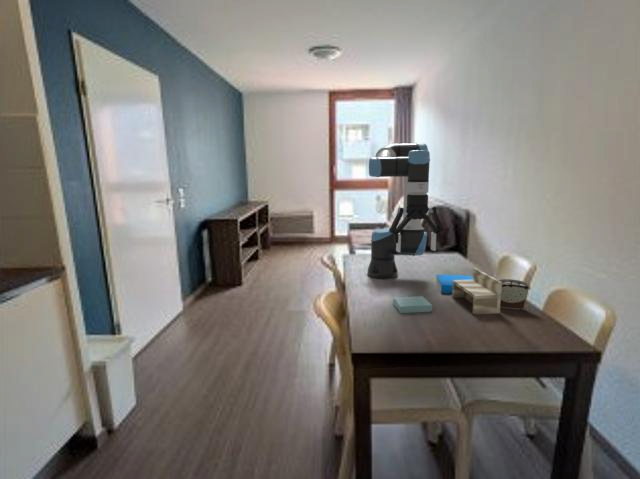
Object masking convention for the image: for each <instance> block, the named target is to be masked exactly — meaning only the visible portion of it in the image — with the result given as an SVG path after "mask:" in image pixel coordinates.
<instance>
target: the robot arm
mask: <svg viewBox="0 0 640 479" xmlns="http://www.w3.org/2000/svg"><path fill="white" fill-rule="evenodd" d="M430 156H431V155H430V151H429V147H428V145H427V144H426V143H424V142H410V143H409V142H407V143H404V142H403V143H392V144H388V145H385V146H383V147H380V148H379V149H378V150H377V151H376V153H375V157H370V158H369V160H368V176H369V177H371V178H372V177H373V178H387V177H388V178H390V177H391V178H392V177H394V178H396V177H397V178H399V177H402V178H403V204H402V205H403V207H401V206H399V207H398V208H397V213H396V215H395V217H394V219H393V221H392V223H391V226H390V227H387V228H381V229H376V230H374V231H372V233H371V239H370V242H371V243H370V244H371V245H370V246H371V248H370V249H371V250H370V262H369V265H368V268H367V276H368V277H370V278H373V279H383V280H384V279H387V280H388V279H394V278H396V277H398V275H399V270H398V268H397V264H396V260H395V257H396V256H412V257H414V256H422V255H423V254H424V253H425V250H426V246H427V238H428V232H427V231H425V227H423V226H422V220H424V221H425V223H426V224H427V225H428V227H429V228H430V229H431V230H432V232H431V236H430V250H431V251H434V252H436V250H437V242H438V241H439V234H440V233H441V232H444V230H445V229H444V226H443V224H442V221H441V220H440V219H441V218H439V215H438V213H437V207H436V206H433V205H432V206H430V207H429V206H428V205H429V194H428V193H429V186H430V183H429V182H430V180H429V178H430V162H431V158H430ZM427 213H430V215H431V217H432V219H433V221H434V223H433V221H432V220H431V218H430V217H429V216H428V215H427ZM402 218H403V219H402ZM401 219H402V221H401ZM400 221H401V222H400Z"/></svg>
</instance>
